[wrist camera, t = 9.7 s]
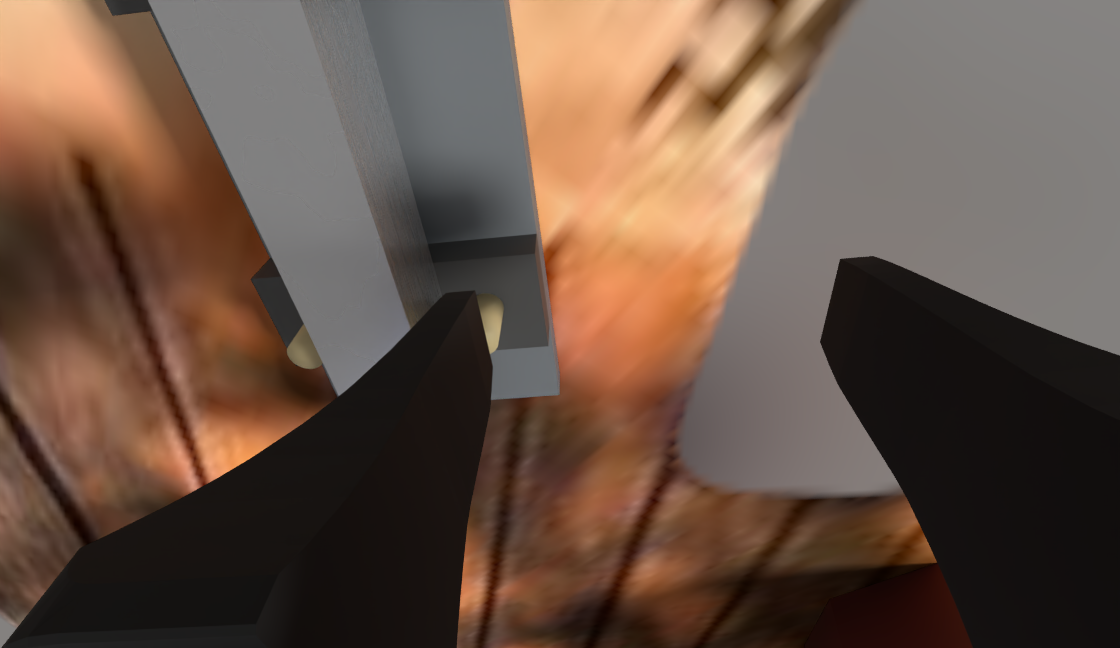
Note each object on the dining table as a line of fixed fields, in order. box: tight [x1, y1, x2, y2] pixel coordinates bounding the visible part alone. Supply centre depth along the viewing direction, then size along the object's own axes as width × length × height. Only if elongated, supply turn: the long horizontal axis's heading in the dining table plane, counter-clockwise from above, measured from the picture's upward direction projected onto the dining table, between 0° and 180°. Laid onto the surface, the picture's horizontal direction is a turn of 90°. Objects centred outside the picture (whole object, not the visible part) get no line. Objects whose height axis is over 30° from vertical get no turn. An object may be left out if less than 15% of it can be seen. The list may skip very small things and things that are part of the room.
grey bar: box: [148, 0, 442, 396], centre depth 14 cm, size 24×4×4 cm, turn 6°
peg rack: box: [105, 0, 560, 400], centre depth 16 cm, size 24×10×5 cm, turn 6°
